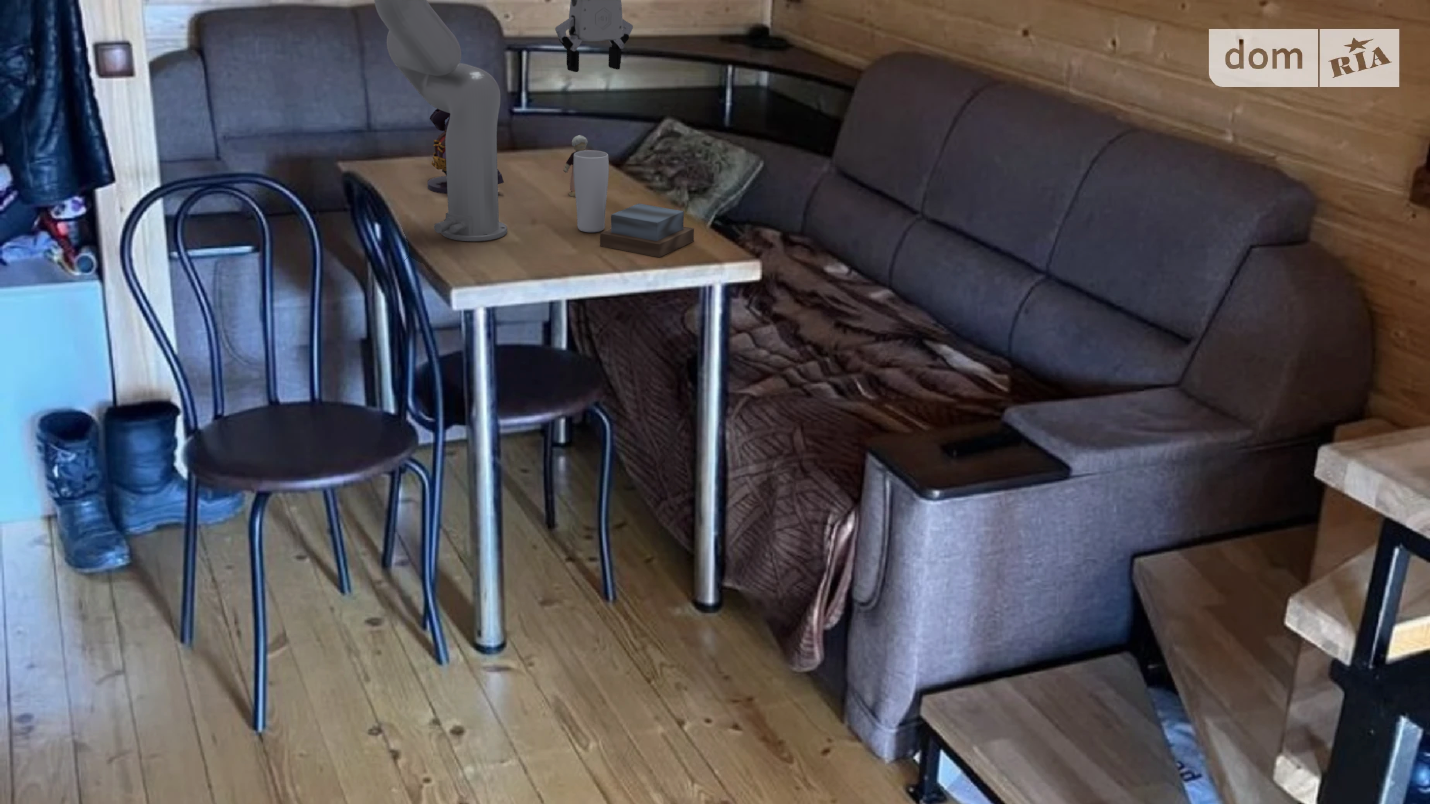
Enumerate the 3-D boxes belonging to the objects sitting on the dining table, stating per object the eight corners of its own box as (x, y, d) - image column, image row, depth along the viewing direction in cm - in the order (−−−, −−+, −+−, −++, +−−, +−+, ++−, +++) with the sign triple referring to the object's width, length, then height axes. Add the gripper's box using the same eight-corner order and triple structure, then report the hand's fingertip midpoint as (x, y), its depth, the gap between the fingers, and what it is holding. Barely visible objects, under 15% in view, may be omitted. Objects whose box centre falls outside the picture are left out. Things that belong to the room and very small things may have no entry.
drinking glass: (590, 223, 286) (590, 148, 280) (615, 229, 282) (616, 154, 276) (566, 229, 281) (565, 153, 275) (591, 236, 277) (591, 159, 271)
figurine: (506, 195, 303) (504, 117, 297) (442, 201, 298) (439, 121, 291) (478, 174, 320) (475, 99, 314) (417, 179, 314) (413, 102, 308)
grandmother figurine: (574, 199, 303) (574, 139, 298) (561, 195, 305) (560, 136, 300) (598, 192, 308) (599, 133, 304) (585, 189, 311) (585, 131, 306)
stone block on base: (659, 257, 266) (660, 225, 263) (600, 245, 271) (600, 215, 269) (693, 241, 276) (694, 210, 274) (635, 230, 282) (636, 200, 280)
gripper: (568, -18, 268) (566, 75, 274) (643, -20, 278) (640, 70, 284) (546, -23, 273) (546, 69, 280) (621, -24, 284) (619, 64, 290)
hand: (593, 69), depth 282 cm, fingers open, 9 cm apart
